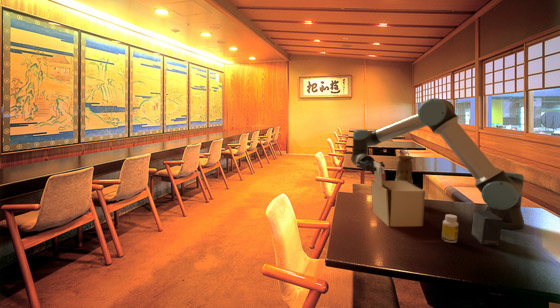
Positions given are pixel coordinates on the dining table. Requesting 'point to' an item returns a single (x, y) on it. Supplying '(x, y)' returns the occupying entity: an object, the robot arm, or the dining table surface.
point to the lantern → (404, 168)
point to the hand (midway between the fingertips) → (381, 170)
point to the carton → (404, 203)
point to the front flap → (380, 197)
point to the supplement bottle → (450, 228)
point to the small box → (486, 227)
